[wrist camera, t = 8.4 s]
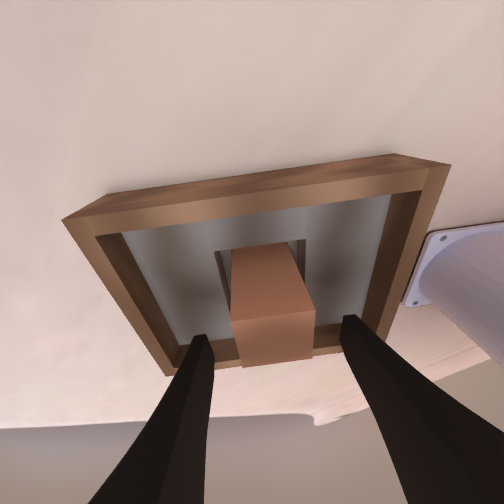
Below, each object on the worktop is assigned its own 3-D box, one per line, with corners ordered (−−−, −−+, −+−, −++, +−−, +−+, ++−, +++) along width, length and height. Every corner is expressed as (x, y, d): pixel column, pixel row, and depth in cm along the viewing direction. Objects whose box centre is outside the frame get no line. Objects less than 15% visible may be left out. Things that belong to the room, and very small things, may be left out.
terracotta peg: (284, 238, 15) (315, 310, 10) (286, 279, 18) (312, 358, 12) (232, 245, 15) (230, 321, 10) (239, 285, 18) (242, 368, 12)
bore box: (394, 153, 13) (451, 164, 9) (358, 309, 20) (383, 346, 17) (106, 194, 13) (61, 220, 9) (177, 334, 20) (165, 376, 17)
